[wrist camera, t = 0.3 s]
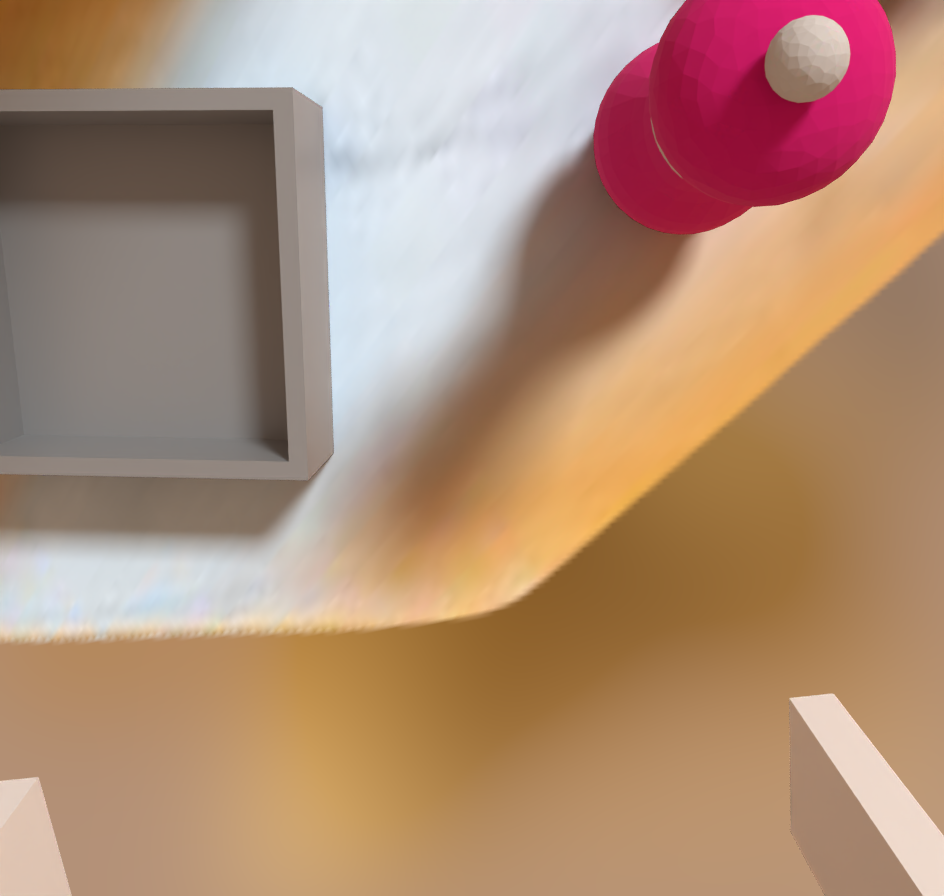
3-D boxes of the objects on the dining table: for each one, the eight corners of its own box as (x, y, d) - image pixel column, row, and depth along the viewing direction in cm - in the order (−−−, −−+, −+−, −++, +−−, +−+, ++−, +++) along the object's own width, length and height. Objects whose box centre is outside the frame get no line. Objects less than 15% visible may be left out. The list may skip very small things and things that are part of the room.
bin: (-21, 108, 39) (-98, 90, 34) (322, 107, 38) (292, 87, 34) (19, 446, 43) (-46, 473, 38) (333, 452, 42) (308, 480, 37)
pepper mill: (605, 253, 39) (681, 262, 20) (570, 85, 38) (615, -84, 18) (768, 212, 38) (1016, 181, 19) (739, 39, 37) (975, -189, 17)
